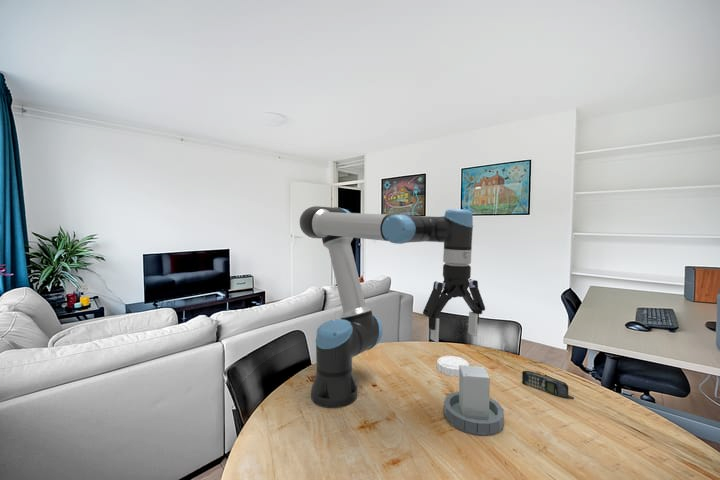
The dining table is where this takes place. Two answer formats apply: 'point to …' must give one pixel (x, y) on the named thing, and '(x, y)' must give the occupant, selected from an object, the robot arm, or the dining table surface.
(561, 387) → the mobile phone
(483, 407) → the supplement box
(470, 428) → the round tray
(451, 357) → the mooncake
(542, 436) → the dining table surface
